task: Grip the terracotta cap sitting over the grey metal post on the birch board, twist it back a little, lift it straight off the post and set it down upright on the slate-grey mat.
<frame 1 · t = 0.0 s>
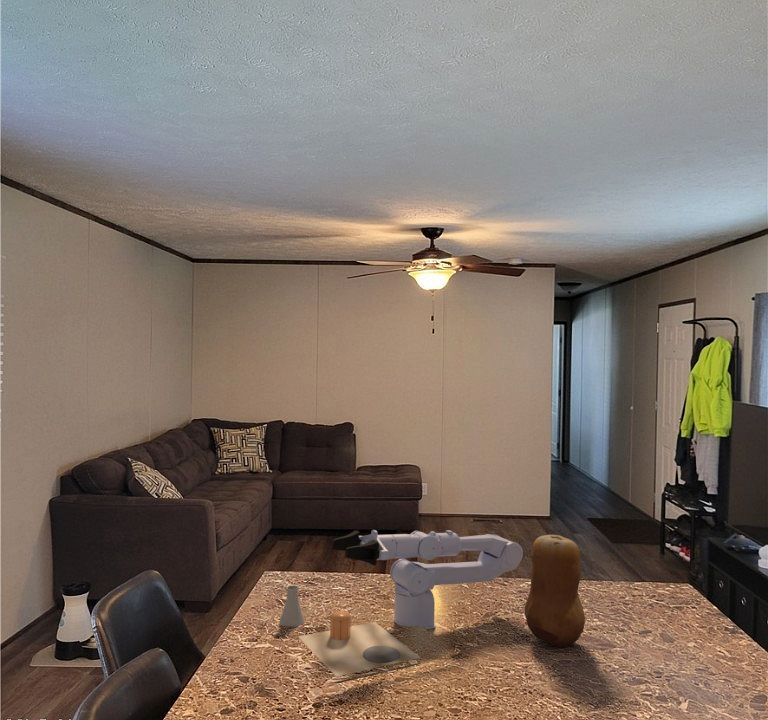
hand: (339, 548, 166), 22 cm above the countertop, tool horizontal, fingers open, 7 cm apart
cap: (340, 636, 166), point 1 cm above the countertop, touching board
butternut squash: (553, 643, 167), on the countertop
flask: (292, 628, 174), on the countertop
board: (357, 653, 160), on the countertop
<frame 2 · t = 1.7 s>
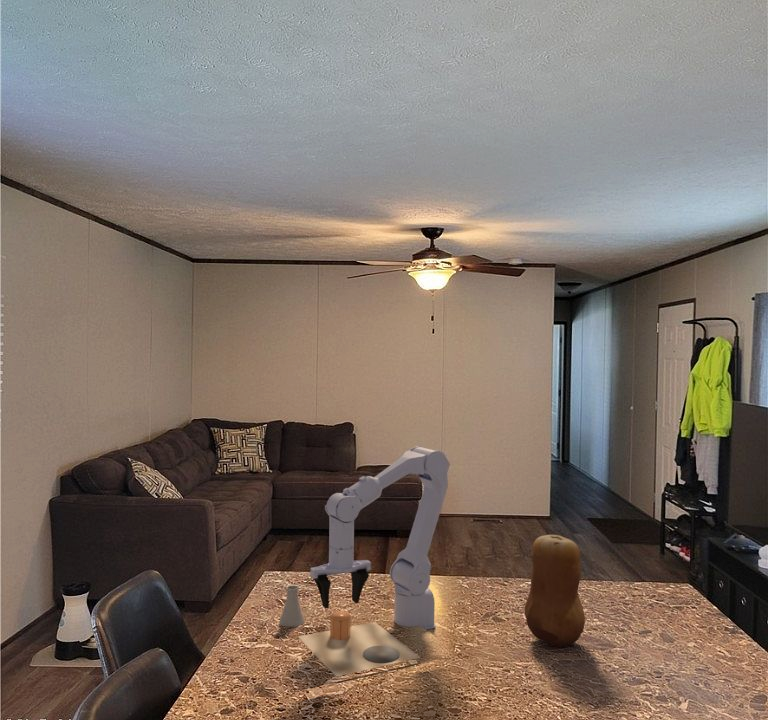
hand: (340, 604, 166), 9 cm above the countertop, tool pointing down, fingers open, 7 cm apart
nothing on the countertop moved.
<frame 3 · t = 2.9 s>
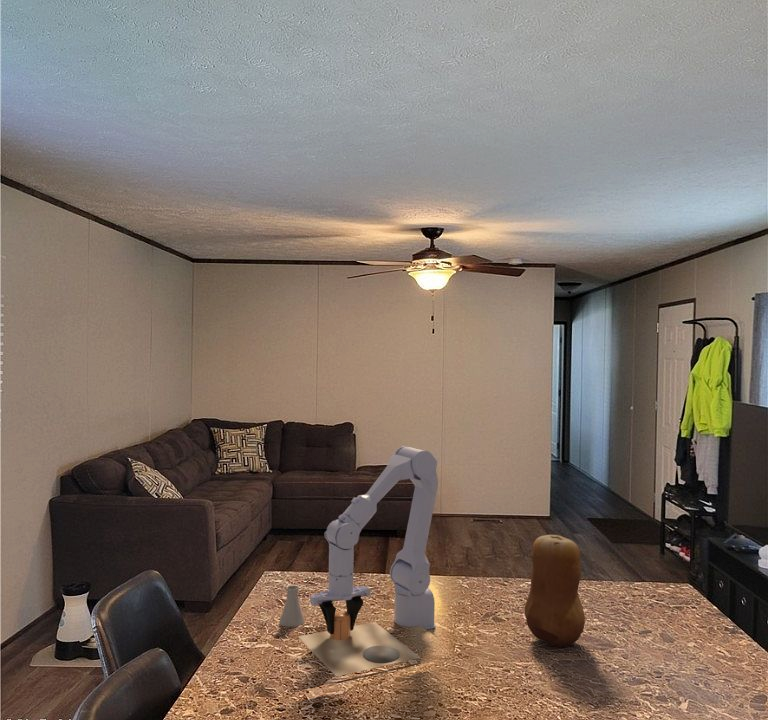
hand: (340, 630, 166), 3 cm above the countertop, tool pointing down, fingers closed on cap, 4 cm apart
cap: (340, 636, 166), point 2 cm above the countertop, touching board, gripper
everything else where it was.
when the fingers open (4 cm above the countertop, at t = 7.5 s): cap drops 1 cm, resting on board.
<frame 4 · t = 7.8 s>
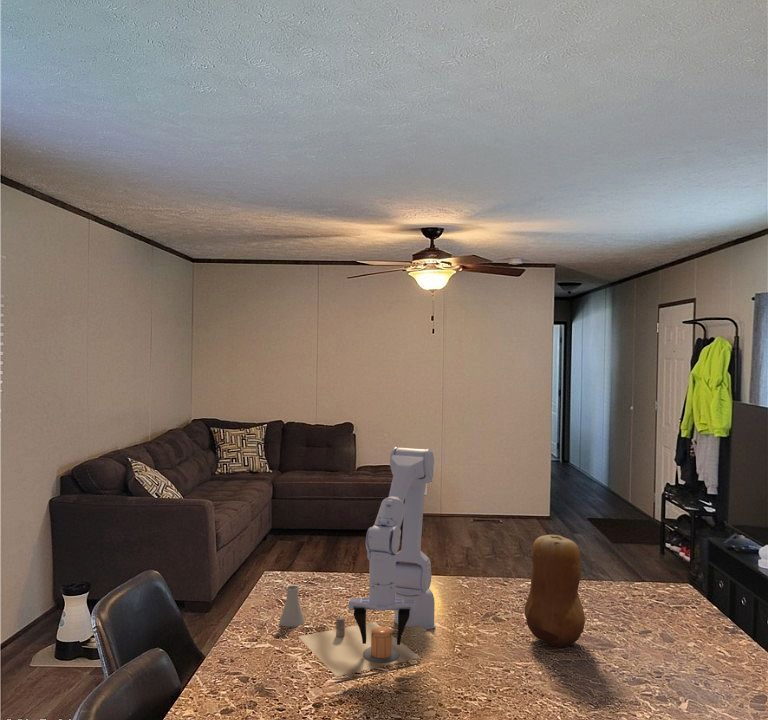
hand: (381, 642, 156), 4 cm above the countertop, tool pointing down, fingers open, 7 cm apart
cap: (381, 653, 156), point 2 cm above the countertop, touching board
everything else where it was.
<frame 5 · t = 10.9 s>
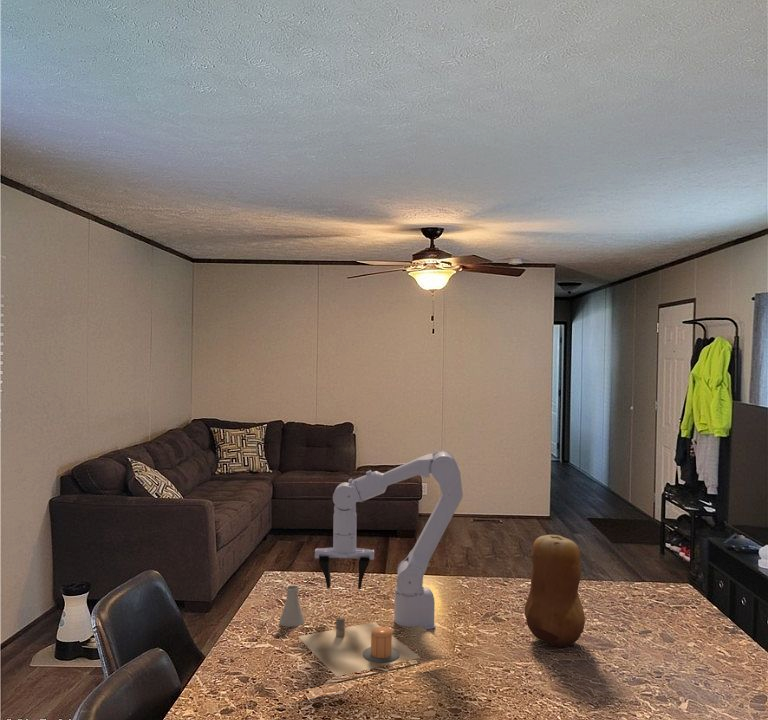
hand: (344, 587, 176), 9 cm above the countertop, tool pointing down, fingers open, 7 cm apart
nothing on the countertop moved.
at the end: cap 0.0 cm from the target spot on the board, point 1.8 cm above the board's base; cap tilted 0°; the gripper is holding nothing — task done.
